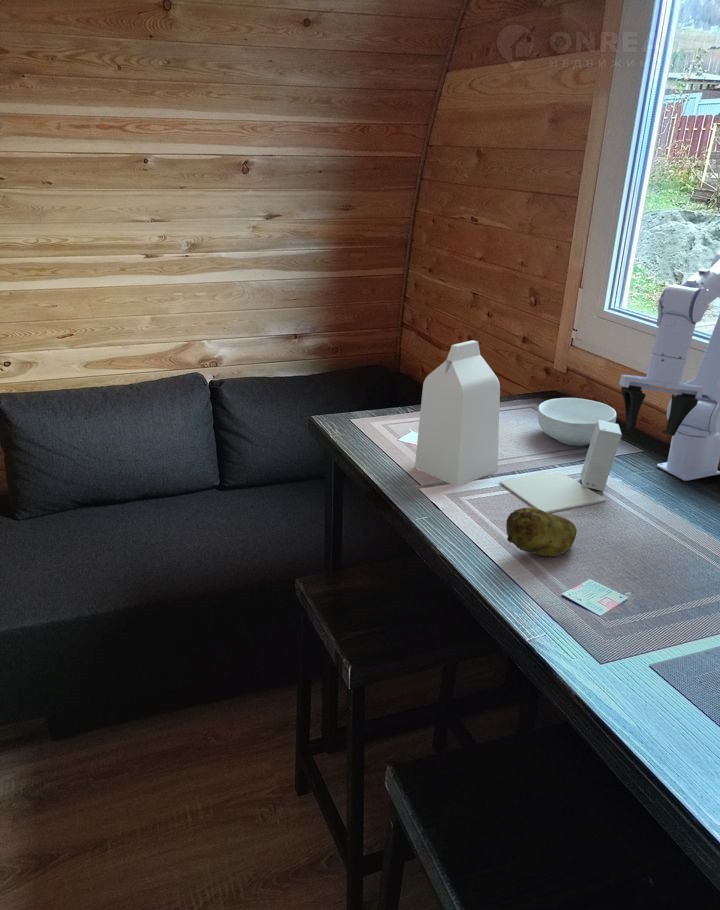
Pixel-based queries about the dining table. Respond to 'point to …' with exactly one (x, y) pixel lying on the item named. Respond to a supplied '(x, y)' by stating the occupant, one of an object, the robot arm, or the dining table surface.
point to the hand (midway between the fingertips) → (649, 431)
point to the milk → (459, 418)
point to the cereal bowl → (573, 419)
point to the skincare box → (600, 455)
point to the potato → (540, 531)
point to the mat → (552, 491)
